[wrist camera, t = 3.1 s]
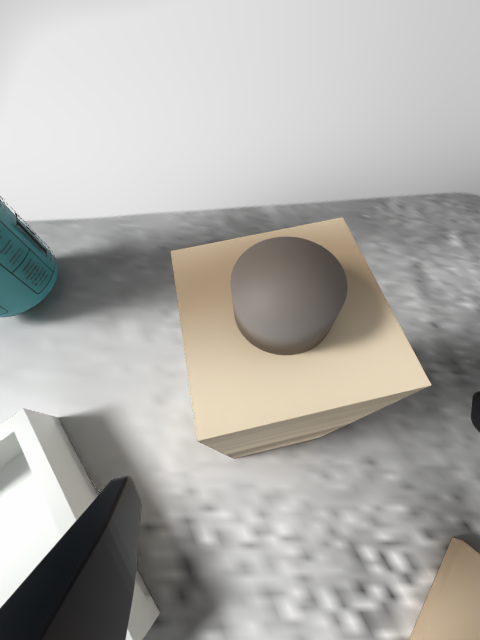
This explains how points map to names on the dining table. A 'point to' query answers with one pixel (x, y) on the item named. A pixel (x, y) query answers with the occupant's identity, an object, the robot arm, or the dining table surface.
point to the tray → (46, 504)
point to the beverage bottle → (22, 266)
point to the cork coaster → (453, 598)
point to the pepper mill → (287, 338)
